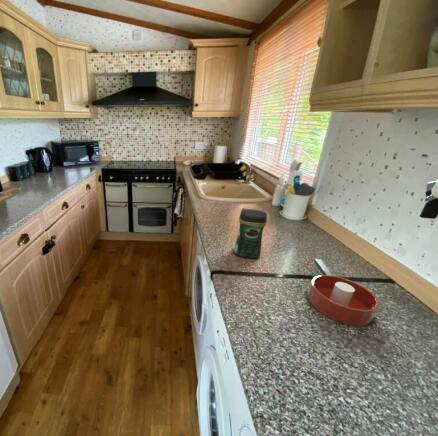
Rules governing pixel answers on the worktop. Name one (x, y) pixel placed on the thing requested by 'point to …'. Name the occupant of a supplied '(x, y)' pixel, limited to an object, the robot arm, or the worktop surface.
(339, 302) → the pale grey cylinder
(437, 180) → the robot arm
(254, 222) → the coffee jar
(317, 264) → the pan handle
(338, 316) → the pan
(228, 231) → the worktop surface
